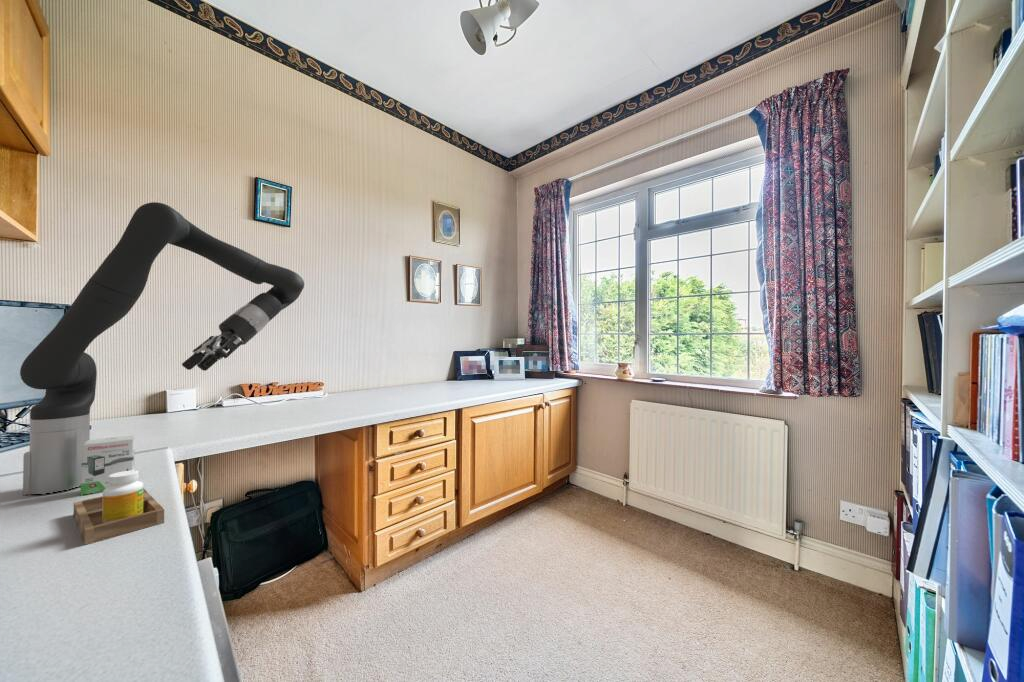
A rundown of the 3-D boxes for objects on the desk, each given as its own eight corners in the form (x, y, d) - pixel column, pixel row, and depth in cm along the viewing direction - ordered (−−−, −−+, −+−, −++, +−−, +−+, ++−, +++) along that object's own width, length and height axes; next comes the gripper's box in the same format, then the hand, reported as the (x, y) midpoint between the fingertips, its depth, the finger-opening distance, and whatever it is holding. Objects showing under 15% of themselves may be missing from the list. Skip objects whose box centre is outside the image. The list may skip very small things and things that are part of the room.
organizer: (73, 514, 75) (73, 502, 75) (142, 498, 83) (142, 487, 83) (85, 544, 63) (85, 530, 63) (164, 522, 71) (164, 509, 71)
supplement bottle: (143, 524, 71) (144, 473, 71) (101, 535, 67) (102, 480, 67) (142, 515, 74) (143, 466, 75) (102, 525, 70) (103, 473, 71)
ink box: (79, 496, 84) (79, 444, 85) (82, 490, 88) (83, 440, 88) (133, 486, 90) (133, 437, 91) (134, 481, 94) (134, 434, 94)
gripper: (221, 314, 103) (166, 357, 92) (248, 311, 96) (192, 357, 85) (242, 334, 107) (193, 377, 97) (269, 333, 100) (219, 379, 90)
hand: (192, 367), depth 91 cm, fingers open, 8 cm apart
